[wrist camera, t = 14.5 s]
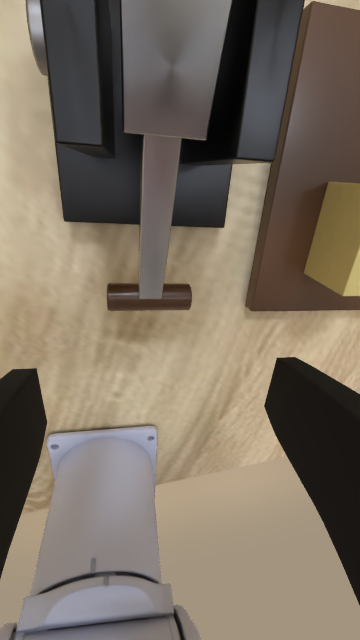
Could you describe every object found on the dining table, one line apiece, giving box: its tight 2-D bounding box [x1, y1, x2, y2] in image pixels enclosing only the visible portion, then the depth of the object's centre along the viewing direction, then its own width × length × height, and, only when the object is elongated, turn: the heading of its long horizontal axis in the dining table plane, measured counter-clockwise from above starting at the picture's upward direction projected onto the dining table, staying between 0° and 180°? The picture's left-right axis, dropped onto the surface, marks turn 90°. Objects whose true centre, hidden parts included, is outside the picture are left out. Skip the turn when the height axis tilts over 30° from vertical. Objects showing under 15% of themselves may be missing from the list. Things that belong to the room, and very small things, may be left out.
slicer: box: [26, 0, 305, 228], centre depth 9 cm, size 10×8×9 cm
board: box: [246, 1, 360, 311], centre depth 16 cm, size 14×9×1 cm, turn 177°
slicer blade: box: [107, 0, 233, 311], centre depth 10 cm, size 11×4×2 cm, turn 176°
